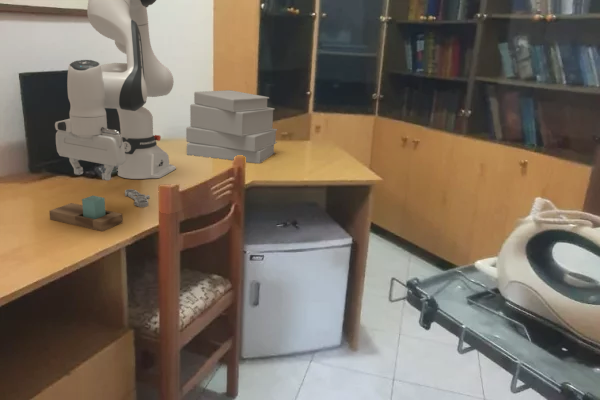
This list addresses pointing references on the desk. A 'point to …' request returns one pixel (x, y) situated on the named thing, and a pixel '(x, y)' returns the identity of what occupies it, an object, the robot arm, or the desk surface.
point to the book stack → (231, 126)
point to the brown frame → (75, 216)
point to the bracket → (140, 198)
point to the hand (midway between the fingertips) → (92, 176)
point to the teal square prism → (93, 207)
